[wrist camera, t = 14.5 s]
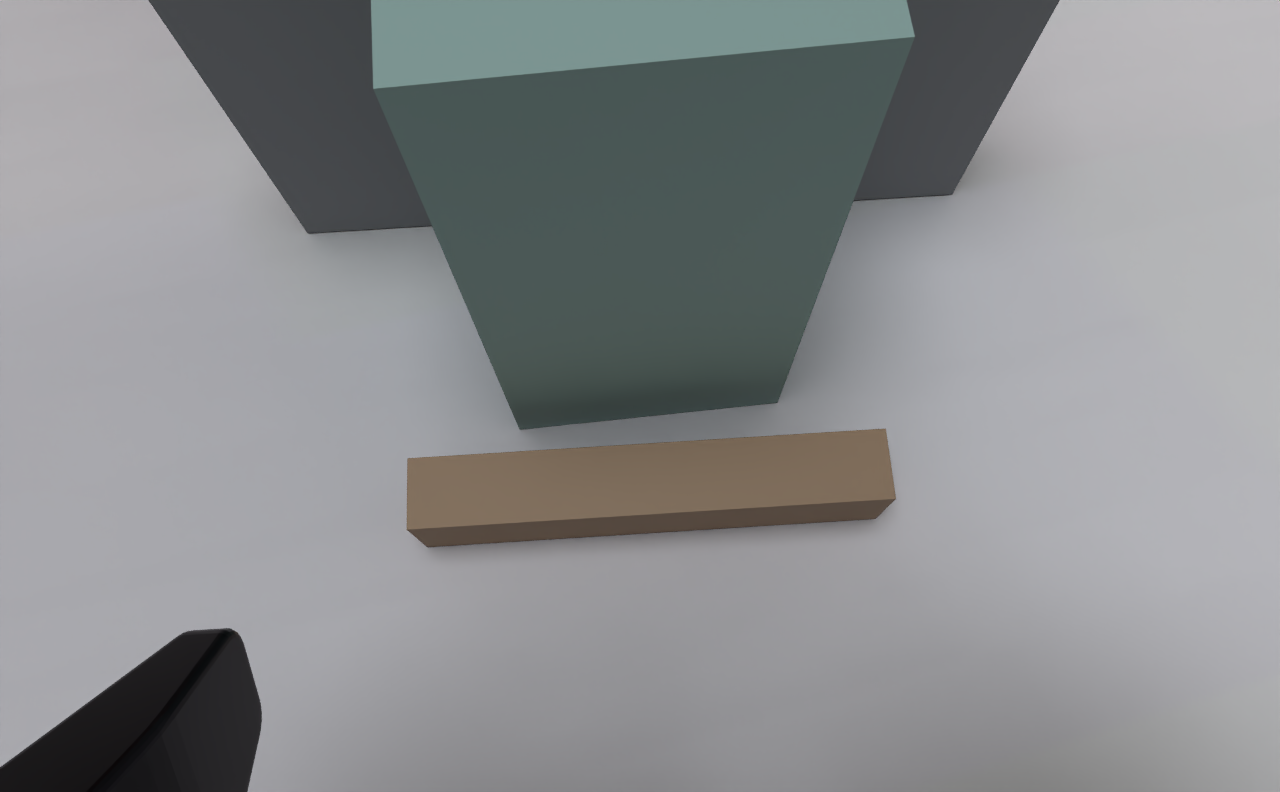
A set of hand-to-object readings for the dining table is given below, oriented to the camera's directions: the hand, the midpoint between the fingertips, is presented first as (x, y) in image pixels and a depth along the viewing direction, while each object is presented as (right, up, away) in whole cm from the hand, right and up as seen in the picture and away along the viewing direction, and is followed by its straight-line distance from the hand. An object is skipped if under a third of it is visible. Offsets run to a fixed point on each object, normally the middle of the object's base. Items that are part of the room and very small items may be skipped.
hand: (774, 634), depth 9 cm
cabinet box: (-1, +4, +16) cm, 16 cm away
